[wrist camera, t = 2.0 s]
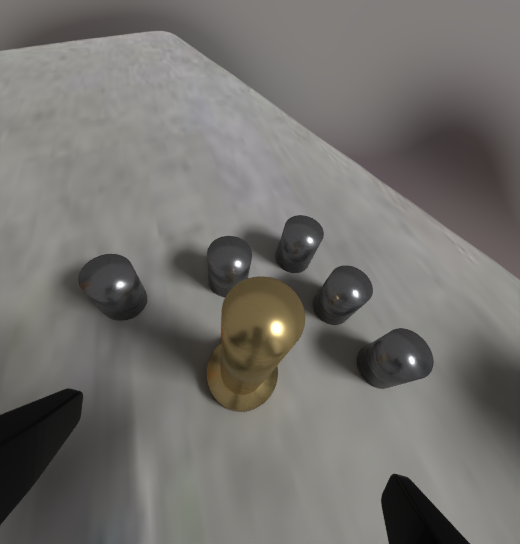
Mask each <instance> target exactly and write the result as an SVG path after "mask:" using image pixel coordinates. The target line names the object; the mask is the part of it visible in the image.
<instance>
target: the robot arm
mask: <svg viewBox="0 0 520 544" xmlns="http://www.w3.org/2000/svg"><path fill="white" fill-rule="evenodd" d="M82 402H83V393H82V392H81V391H78V390H74V389H64V390H62V391H59V392H57V393H54V394H52V395H49V396H47V397H44V398H42V399H39V400H37V401H34V402H32V403H29V404H27V405H24V406H21V407H19V408H16V409H14V410H11V411H9V412H6V413H4V414H1V415H0V525H1V523H2V522H3V521H4V520H5V519H6V517H7V516H8V515H9V514H10V513H11V512H12V510H13V509H14V508H15V507H16V506H17V504H18V503H19V502H20V501H21V500H22V498H23V497H24V496H25V495H26V494H27V492H28V491H29V490H30V489H31V487H32V486H33V485H34V484H35V482H36V481H37V480H38V478H39V477H40V476H41V474H42V473H43V472H44V470H45V469H46V467H47V466H48V465H49V463H50V462H51V460H52V459H53V458H54V456H55V455H56V453H57V452H58V451H59V449H60V448H61V446H62V445H63V444H64V442H65V441H66V439H67V438H68V437H69V435H70V434H71V432H72V431H73V430H74V428H75V427H76V425H77V424H78V422H79V420H80V417H81V411H82ZM381 504H382V510H383V515H384V520H385V526H386V531H387V536H388V541H389V544H470V543H469V542H468V541H467V540H466V539H465V538H464V537H463V536H462V535H461V534H460V532H459V531H458V530H457V529H456V528H455V527H454V526H453V525H452V524H451V523H450V522H449V521H448V520H447V518H446V517H445V516H444V515H443V514H442V513H441V512H440V511H439V510H438V509H437V508H436V507H435V506H434V504H433V503H432V502H431V501H430V500H429V499H428V498H427V497H426V496H425V495H424V494H423V493H422V492H421V490H420V489H419V488H418V487H417V486H416V485H415V484H414V483H413V482H412V481H411V480H410V479H409V478H408V477H405V476H402V475H398V474H392V475H391V476H390V478H389V480H388V483H387V485H386V487H385V489H384V491H383V493H382V498H381Z"/></svg>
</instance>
